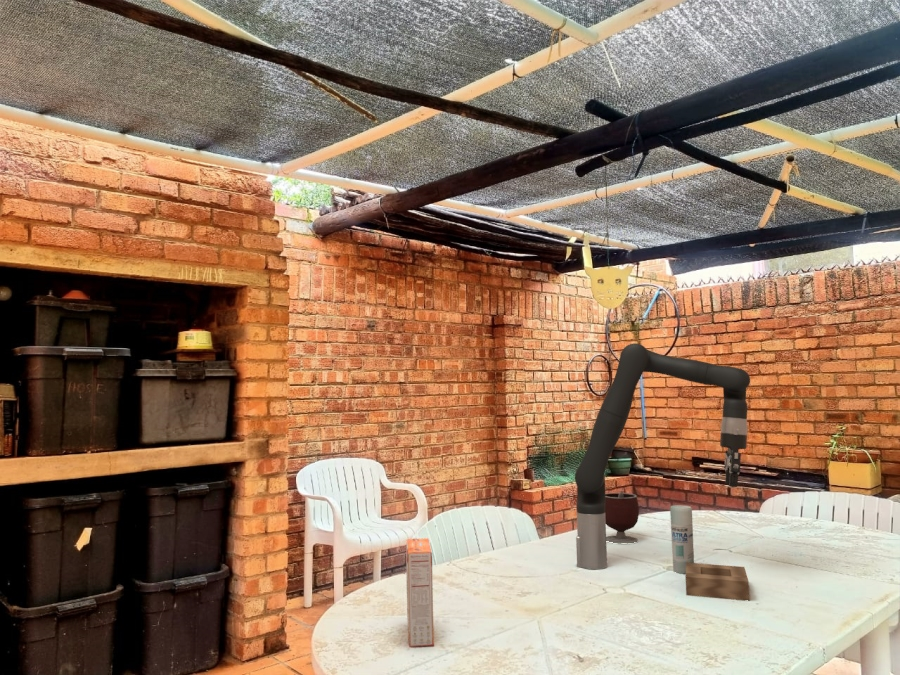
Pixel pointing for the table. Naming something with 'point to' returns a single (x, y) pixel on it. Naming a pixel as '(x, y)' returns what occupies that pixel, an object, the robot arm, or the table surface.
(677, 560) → the spray paint can
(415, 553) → the cracker box
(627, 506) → the mate gourd
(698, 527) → the table surface
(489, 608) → the table surface
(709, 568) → the walnut holder
